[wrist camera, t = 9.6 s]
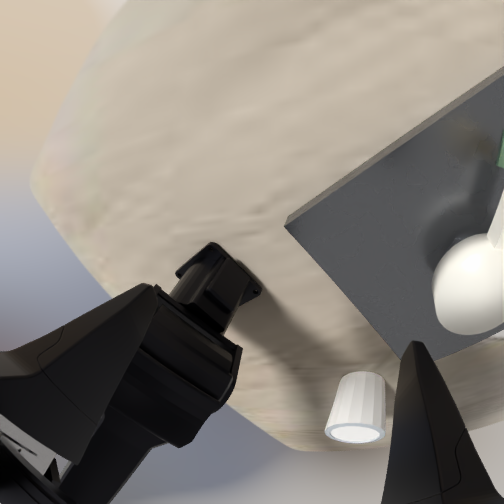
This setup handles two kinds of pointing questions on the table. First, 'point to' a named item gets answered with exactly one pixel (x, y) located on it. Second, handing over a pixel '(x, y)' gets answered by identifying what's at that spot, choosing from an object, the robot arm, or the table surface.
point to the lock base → (411, 217)
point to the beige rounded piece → (472, 281)
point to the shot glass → (358, 409)
